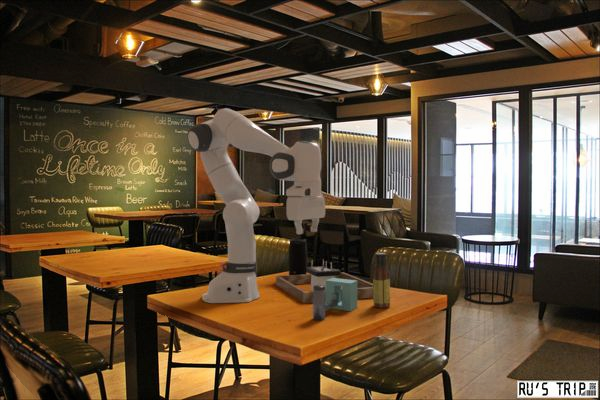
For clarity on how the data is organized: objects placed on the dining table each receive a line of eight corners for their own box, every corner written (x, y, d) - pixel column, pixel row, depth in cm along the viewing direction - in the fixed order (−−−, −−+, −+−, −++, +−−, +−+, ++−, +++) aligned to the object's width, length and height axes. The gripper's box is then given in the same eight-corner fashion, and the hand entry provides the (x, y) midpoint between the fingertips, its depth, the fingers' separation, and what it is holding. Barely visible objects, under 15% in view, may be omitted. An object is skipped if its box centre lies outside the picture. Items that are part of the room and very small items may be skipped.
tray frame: (304, 303, 183) (304, 292, 183) (275, 285, 216) (276, 276, 216) (381, 297, 194) (381, 287, 194) (343, 280, 228) (343, 272, 228)
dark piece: (321, 321, 158) (321, 288, 158) (310, 319, 160) (311, 286, 160) (341, 311, 172) (341, 280, 171) (331, 309, 174) (331, 279, 173)
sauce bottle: (388, 304, 183) (389, 252, 182) (391, 308, 176) (392, 254, 176) (371, 304, 182) (371, 252, 182) (374, 308, 176) (374, 254, 176)
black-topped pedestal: (366, 298, 194) (366, 265, 193) (305, 303, 185) (305, 268, 184) (337, 284, 220) (337, 255, 219) (282, 288, 211) (283, 257, 211)
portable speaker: (298, 283, 220) (298, 240, 219) (284, 280, 227) (284, 239, 226) (311, 281, 226) (311, 239, 225) (297, 278, 233) (297, 237, 232)
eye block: (350, 311, 172) (350, 283, 171) (325, 307, 177) (325, 280, 176) (357, 307, 177) (357, 280, 177) (332, 304, 182) (332, 277, 181)
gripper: (313, 190, 168) (313, 230, 168) (283, 190, 150) (282, 234, 150) (330, 190, 164) (329, 231, 165) (300, 190, 147) (300, 236, 147)
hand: (306, 233), depth 157 cm, fingers open, 8 cm apart
